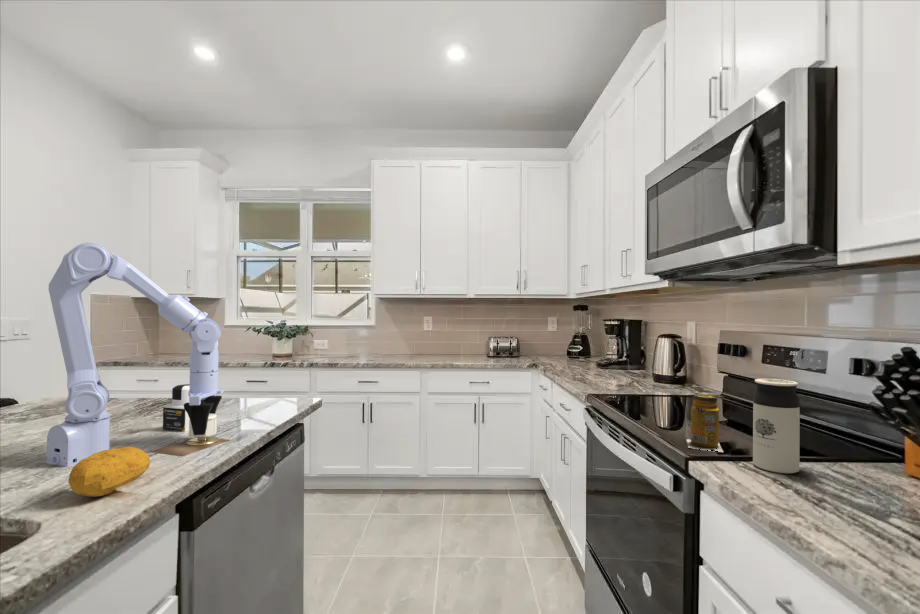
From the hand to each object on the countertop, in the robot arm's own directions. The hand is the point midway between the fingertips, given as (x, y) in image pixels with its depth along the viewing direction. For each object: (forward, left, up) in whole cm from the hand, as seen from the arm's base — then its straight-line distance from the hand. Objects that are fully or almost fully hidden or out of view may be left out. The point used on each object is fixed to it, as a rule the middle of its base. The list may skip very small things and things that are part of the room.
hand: (203, 431), depth 106 cm
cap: (0, 0, -1) cm, 1 cm away
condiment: (+41, -110, -4) cm, 117 cm away
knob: (0, 0, -2) cm, 2 cm away
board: (-3, 0, -4) cm, 5 cm away
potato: (-25, -6, -4) cm, 26 cm away
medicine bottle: (+9, +15, -4) cm, 18 cm away
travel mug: (+28, -121, -4) cm, 124 cm away
